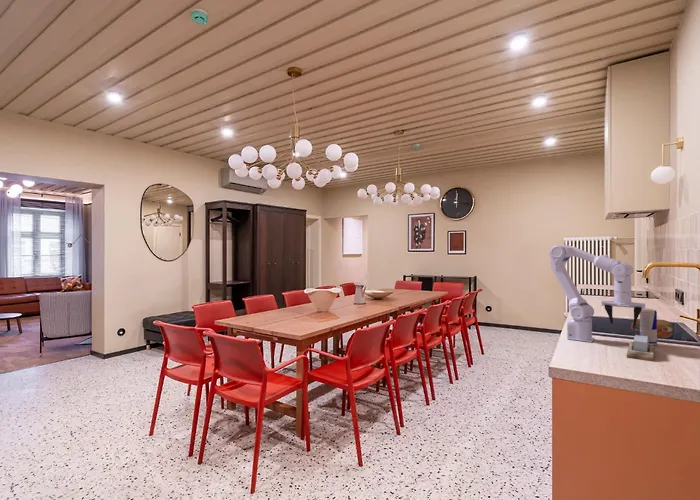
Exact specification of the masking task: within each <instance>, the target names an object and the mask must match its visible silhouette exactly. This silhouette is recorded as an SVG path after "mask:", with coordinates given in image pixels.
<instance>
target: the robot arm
mask: <svg viewBox="0 0 700 500" xmlns="http://www.w3.org/2000/svg"><path fill="white" fill-rule="evenodd" d="M548 255H549V257H550V258H549V261H550V262H549V263H550V265H549V266H550V268H551V271H552V272H553V274H554V276H555V278H556V279H557V282H558V283H559V285H560V287H561V289H562V291H563V293H564V294H565V296H566V298H567V300H568V308H569V310H570V312H569V313H570V316H571V317H572V318H568V319H567V322H566V327H567V328H566V331H567V333H566V336H567V337H566V339H567V340H571V341H572V340H573V341H580V342H587V343H588V342H589V343H593V341H594V340H595V338H594V337H593V322H592V321H593V319H592V317H593V316H594V314H595V309H594V308H593V306H592V305H590V304H589V303H588V301H587V300H586V299H585V298H583V296H582V295H581V293H580V291H579V290H578V288H577V286H576V285H575V283H574V281H573V279H572V276H570V274H569V272H568V271H567V269H566V267H565V266H566V264H567V262H568V260H570V258H572V257H576V258H578V259H581V260H584V261H586V262H590V263H592V264H594V267H596V268H597V269H600V270H602V271H604V272H608V273H610V274H612V275H613V276H614V278H613V279H614V281H613V287H614V288H613V294H614V295H613V297H614V299H613V300H601V306H603V307H604V310H605V312H606V314H607V316H608V318H609V322H610V324H612V325H613V324H614V318H613V307H617V308H618V307H619V308H620V307H621V308H629V309H631V308H632V309H633V322H634V323H633V322H632V323H633V325H634V326H636V321H637V319H639V317H640V312H641V311H642V309H645V308H646V303H643V302H642V303H641V302H632V274H633V272H634V268H633V266H632V265H631V264H630V263H628V262H621V260H620V259H614V258H611V257H609V255H607V254H604V255H603V254H601V255H598V256H597V255H595V254H592V253H590V252H587V251H586V250H584V249H580V248H577V247H576V246H571V245H569V244H563V245H560V244H557V245H553V246H552V247H551V248H550V251H549V253H548Z"/></svg>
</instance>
